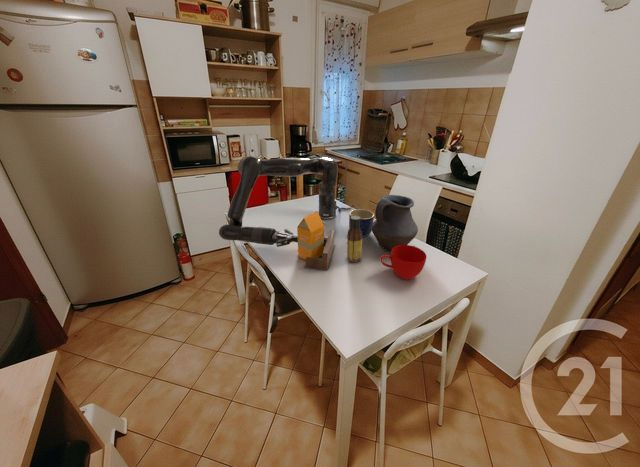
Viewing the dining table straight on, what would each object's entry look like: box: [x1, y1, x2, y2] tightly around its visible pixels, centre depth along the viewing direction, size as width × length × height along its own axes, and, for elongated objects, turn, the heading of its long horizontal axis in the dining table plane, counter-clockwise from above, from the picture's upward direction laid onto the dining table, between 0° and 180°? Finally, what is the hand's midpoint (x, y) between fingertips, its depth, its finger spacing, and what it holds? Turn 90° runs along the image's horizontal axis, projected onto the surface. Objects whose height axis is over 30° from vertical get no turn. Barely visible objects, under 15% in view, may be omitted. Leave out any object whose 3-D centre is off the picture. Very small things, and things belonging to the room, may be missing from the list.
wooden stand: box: [305, 230, 336, 271], centre depth 115 cm, size 9×20×8 cm, turn 169°
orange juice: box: [296, 210, 325, 261], centre depth 112 cm, size 8×9×20 cm
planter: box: [348, 208, 375, 238], centre depth 133 cm, size 12×12×11 cm
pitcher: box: [371, 194, 419, 252], centre depth 118 cm, size 21×22×25 cm
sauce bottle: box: [346, 216, 363, 263], centre depth 110 cm, size 7×6×20 cm
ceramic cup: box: [379, 244, 428, 280], centre depth 103 cm, size 13×17×10 cm
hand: (301, 239), depth 114 cm, fingers closed
